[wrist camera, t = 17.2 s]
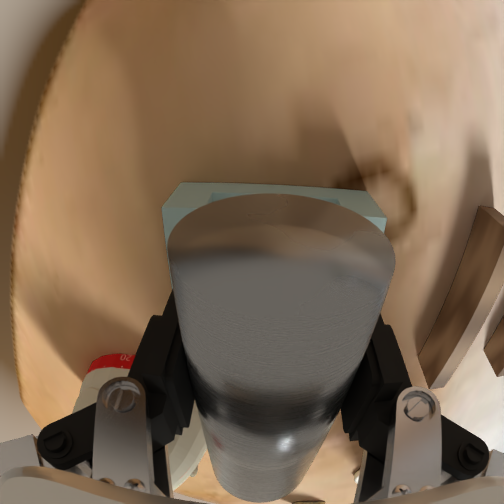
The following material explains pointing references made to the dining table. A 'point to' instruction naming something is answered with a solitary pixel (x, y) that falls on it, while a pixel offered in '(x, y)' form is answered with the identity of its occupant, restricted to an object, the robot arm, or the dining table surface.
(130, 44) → the dining table surface
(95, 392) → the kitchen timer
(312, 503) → the jerry can
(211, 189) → the cradle
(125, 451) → the robot arm
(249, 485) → the grey cylinder
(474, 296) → the wooden blocks
